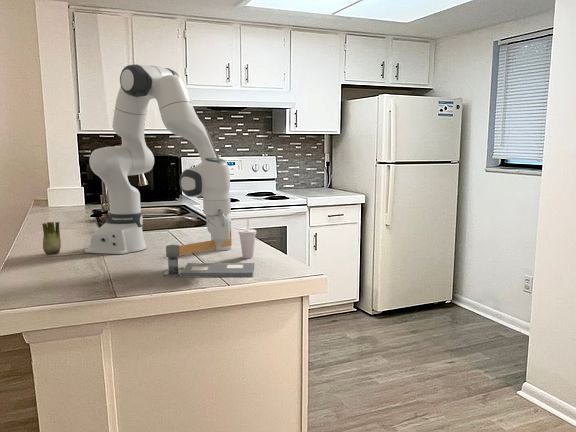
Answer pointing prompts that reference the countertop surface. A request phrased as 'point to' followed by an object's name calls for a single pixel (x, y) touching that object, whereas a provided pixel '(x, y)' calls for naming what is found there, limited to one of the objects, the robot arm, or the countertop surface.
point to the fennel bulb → (51, 238)
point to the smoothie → (247, 241)
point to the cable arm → (192, 248)
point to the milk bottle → (229, 233)
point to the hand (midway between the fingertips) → (218, 249)
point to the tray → (218, 269)
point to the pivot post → (173, 267)
